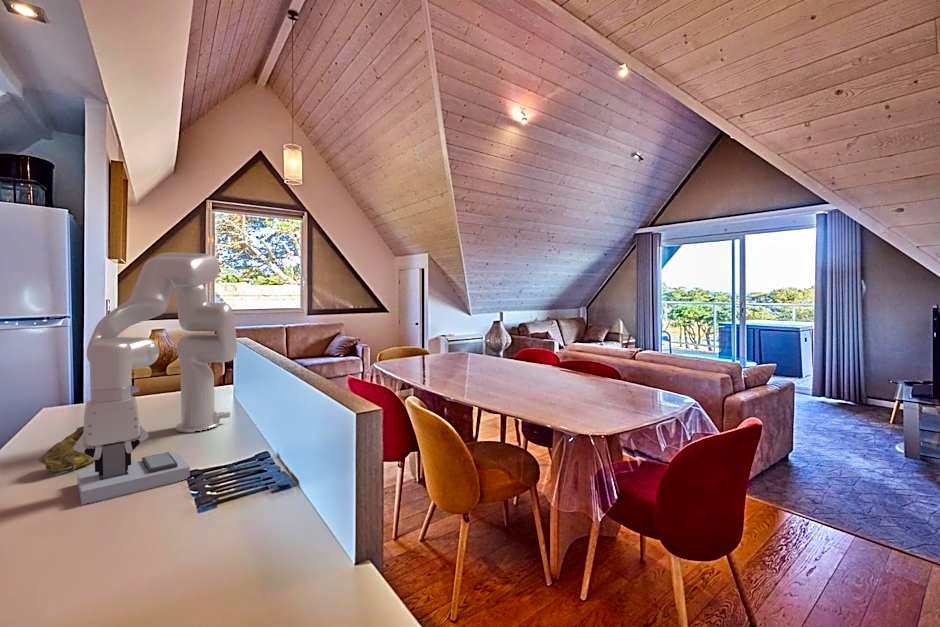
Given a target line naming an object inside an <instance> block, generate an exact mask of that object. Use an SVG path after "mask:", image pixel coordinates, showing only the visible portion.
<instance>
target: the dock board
mask: <svg viewBox="0 0 940 627" xmlns="http://www.w3.org/2000/svg"><path fill="white" fill-rule="evenodd" d="M190 468H191V467H190V466H189V465H188V463H187V462H186V460H185V459H184V458H182V456H181V455H180V453H179V452H178V451H173V452H169V451H168V452H167V451H166V452H163V453H157V454H154V455H153V454H152V455H148V456H142V457H141V458H139V459H134V460H131V465H129V466H128V470H127V471H125V475H123V476H118V477H114V478H109V479H105V480H102V476H100V475H99V472H95V467H94V468H91V469H85V470H79V471H77V472H76V473H77V489H78V492H79V493H78V494H79V500H80V503H81V506H85V505H88V504H87V503H89V504H92V502H93V503H97V502H100V500H101V501H105V500H108V498H109V499H112V498H113V497H114V498H117V497H121V496H125V495H129V494H134V493H137V492H142V491H146V490H149V489H150V488H151V489H154V488H158V486H159V487H162V485H163V486H166V485H165V484H167V485H170V483H171V484H175V483H178V481H179V482H182V481H181V480H183V481H185V480H184V479H186V478H188V477H190V474H191V473H190V472H191V471H190ZM190 478H191V477H190ZM174 482H175V483H174ZM96 501H97V502H96ZM84 504H85V505H84Z"/></svg>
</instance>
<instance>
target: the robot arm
mask: <svg viewBox="0 0 940 627" xmlns="http://www.w3.org/2000/svg"><path fill="white" fill-rule="evenodd" d="M219 274H220V262H219V260H218V259H217V257H216V256H215V255H213V254H211V253H195V252H191V253H190V252H161V253H158V254H157V255H155V256H153V257H151V258H149V259H147V260H146V261H145V263H144V264H143V266H142V268H141V271H140V273H139V276H138V278H137V281H136V283H135V285H134V287H133V290H132V292H131V295H130V297H129V299H128V300H127V301H125V302H123V303H122V304H120V305H118V306H117V307H115V308H114V309H113V310H112V311H110V312H108V313H107V314H106V315H105V316H103V317H102V319H100V320H99V322H98V323H97V324H96V326H95V327H94V330H93V332H92V335H91V337H90V339H89V341H88V345H87V347H86V348H87V349H86V358H87V361H88V363H89V385H90V386H89V387H90V395H89V396H90V401H89V400H88V401H86V403H85V407H84V412H83V414H84V415H83V424H82V426H83V434H82V436H81V437H80V438H79V440H78V441H77V443H76V444H75V445H74V447H73V449H74V450H75V451H78V452H81V453H85V454H87V455H89V456H90V457H92V458H94V459H95V461H94V468H95V472H99V475H100V476H103V459H102V454H101V452H102V446H103V445H108V444H114V443H119V442H125V471H127V470H128V466H129V465H131V461H132V452H133V451H134V450H135V449H136V448H137V447H138V446H139V445H140V444H141V443H143V442H144V441H145V440H147V439H148V438H149V437H150V435H149V434H148V432H147V431H146V430H145V429H144V428H143V427H142V426H141V424H140V423H141V422H140V415H139V412H140V411H139V409H138V408H139V407H138V402H137V398H136V396H134V395H135V394H136V393H140V386H134V385H133V383H132V379H133V378H132V376H133V375H132V374H133V373H132V372H133V370H132V369H137V368H147V367H149V366H152V365H153V364H154V363H155V362H156V361H157V360H158V358H159V356H160V352H161V351H160V346H159V344H158V343H157V342H156V341H155V340H154V339H152V338H148V337H137V336H136V337H130V336H128V337H127V336H126V337H125V336H120V337H119V335H121V333H122V332H124V331H125V330H127V329H128V328H130V327H132V326H133V325H136V324H140V323H141V322H146V321H147V320H152V319H154V318H156V317H159V316H161V315H163V314H164V313H166V312H167V310H168V307H169V304H170V302H171V299H172V296H173V292H174V294H175V301H176V302H175V303H176V311H177V317H178V322H179V326H180V327H181V329H182V330H184V331H187V332H215V333H190V334H186V335H183V336H182V337H180V338H179V339H178V341H177V343H176V351H177V352H176V353H177V358H178V361H179V368H180V369H179V370H180V410H181V411H180V412H181V413H180V414H181V416H180V418H181V420H180V421H181V422H180V423H178V424H177V425H176V426H175V430H176V432H180V433H196V432H195V431H200V432H203V431H202V430H206V431H208V430H207V429H210V428H213V427H216V426H217V425H219V426H220V425H221V424H220V422H221V421H220V419H221V420H222V419H228V418H230V417H231V412H230V411H227V412H224V411H221V412H217V411H215V375H214V374H215V373H214V372H213V370H212V368H211V367H210V365H209V364H208V363H226V362H227V363H228V362H231V361H233V360H235V358H236V356H237V353H238V343H237V342H238V341H237V332H236V322H235V321H236V318H235V314H234V311H233V308H232V307H231V306H230V304H227V303H224V302H210V301H208V296H207V289H206V286H205V285H208V284H209V283H212V282H213V281H215V280H216V279H217V277H218V276H219ZM217 427H218V426H217ZM217 427H216V428H217ZM213 429H214V428H213ZM210 430H211V429H210ZM84 444H86V446H89V447H86V446H84ZM92 447H93V448H92Z"/></svg>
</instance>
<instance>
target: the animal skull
mask: <svg viewBox="0 0 940 627" xmlns="http://www.w3.org/2000/svg"><path fill="white" fill-rule="evenodd" d="M82 434H83V425H82V426H80V427H77V428H76V430H75V431H74V432H72V433H71V434H70V435H68V436H66V437H65V438H64V439H62V440H61V441H59V442H57V443H55V444H54V445H53V446H51V448H49V449H48V450H47V451H46V452H45V453H44V454H43V455H42V456H41V457H39V458H38V461H39V462H40V463H42V464H43V465H45V469H46V470H48V471H54V470H56V471H60V470H61V469H64V468H66V467H68V466H70V465H72V468H71V469H70V470H69V472H75V471H76V470H77V469H80V468H82V467H84V466H85V467H86V466H87V465H90V464H92V463H95V459H94V458H92V457H90V456H89V455H87V454H85V453H81V452H78V451H75V450H74V449H73V447H74V445H75V444H76V443H77V441H78V440H79V438H80V437H81V436H82ZM84 446H86V444H84ZM86 447H89V446H86ZM74 470H75V471H74Z"/></svg>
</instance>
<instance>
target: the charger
mask: <svg viewBox="0 0 940 627" xmlns="http://www.w3.org/2000/svg"><path fill="white" fill-rule="evenodd" d="M101 454H102V459H103V476H102V480H105V479H109V478H114V477H118V476H123V475H125V442H119V443H114V444H108V445H103V446H102V452H101Z"/></svg>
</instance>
